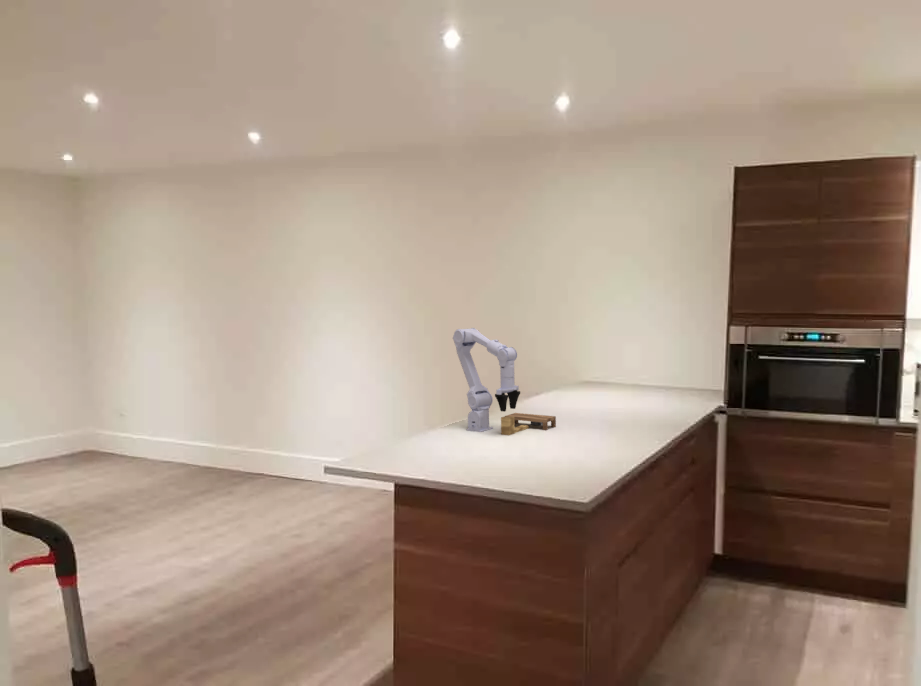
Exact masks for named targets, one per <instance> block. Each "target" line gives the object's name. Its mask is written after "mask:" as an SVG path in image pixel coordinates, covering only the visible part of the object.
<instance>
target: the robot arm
mask: <svg viewBox="0 0 921 686" xmlns="http://www.w3.org/2000/svg"><path fill="white" fill-rule="evenodd" d="M452 340H453V342H454V346H455V349H456V350H455V352H456V355H457V357H458V359H459V362H460V365H461V368H462V371H463V374H464V377H465V379H466V383H467V385H468V388H469V390H468V392H467V393H466V396H467V404H468V406H469V407H470V410H471V411H470V412H469V413H468V415H467V428H466V431H470V432H481V433H482V432H486V431H488V430H492V429H494V426H490V408H491V406H492V404H493V400H494V399H493V395H492V393H490V391H489V389H488V387H487V386H484V385H483V384H482V382H481V379H480V375H479V373H478V371H477V368H476V364H475V362H474V359H473V357H472V355H471V349H473V348H474V346H475V344H476V343H478V344H479V345H481V346H483V347H485V348H486V351H487V352H488V353H490V354H491V355H493V356H494V357H496V358H497V361H498V365H499V366H500V367H499V368H500V369H499V371H500V387H499V388H498V389H496V391H495V393H494V397H495V398H496V399H495V400H496V401H497V403H498V405H499V411H500V412H507V405H508V404H507V403H508V402H509V407H510V409H513V410H514V409H516V407H517V402H518V399H519V397H520V395H521V391H520V389H519V388H520V387H519V385H515V383H516V382H515V361H516V360H517V358H518V352H517V350H516V349H515V348H514V347H512V346H510V347H508V346H507V345H506V344H503V343H502V342H500V341H499V339H489V338H488V337H487V336H485V335H484V334H482V333H481V332H480V330H478V329H477V328H475V327H471V328H458V329H456V330H455V331H454V332H453V337H452Z"/></svg>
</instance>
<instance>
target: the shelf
mask: <svg viewBox="0 0 921 686" xmlns="http://www.w3.org/2000/svg"><path fill="white" fill-rule="evenodd" d="M505 416H511V417H514V424H515V425H516V424H517V425H518V424H519V421H523V422H524V421H525V422H531V421H532V422H543V425H542V430H543V431H548V428H549V427H548V424H549V423H550V427H551V428H556V427H557V425H556V424H557V421H556V420H557V417H556V416H555V415H545V414H544V415H543V414H532V413H521V412H513V413H510V414H507V415H505Z"/></svg>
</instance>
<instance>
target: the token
mask: <svg viewBox="0 0 921 686" xmlns="http://www.w3.org/2000/svg"><path fill="white" fill-rule="evenodd" d="M530 426H543V422H532V421H530Z"/></svg>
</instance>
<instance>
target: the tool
mask: <svg viewBox="0 0 921 686" xmlns="http://www.w3.org/2000/svg"><path fill="white" fill-rule="evenodd" d="M515 425H516V424H514V417H511V416H506V415H504V416H502V417H500V433H501V435H505V436H513V435H514V434H516V433H519V432H522V431H525V430H528V429H530V425H528V424H521V425H518V426H515Z"/></svg>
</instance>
